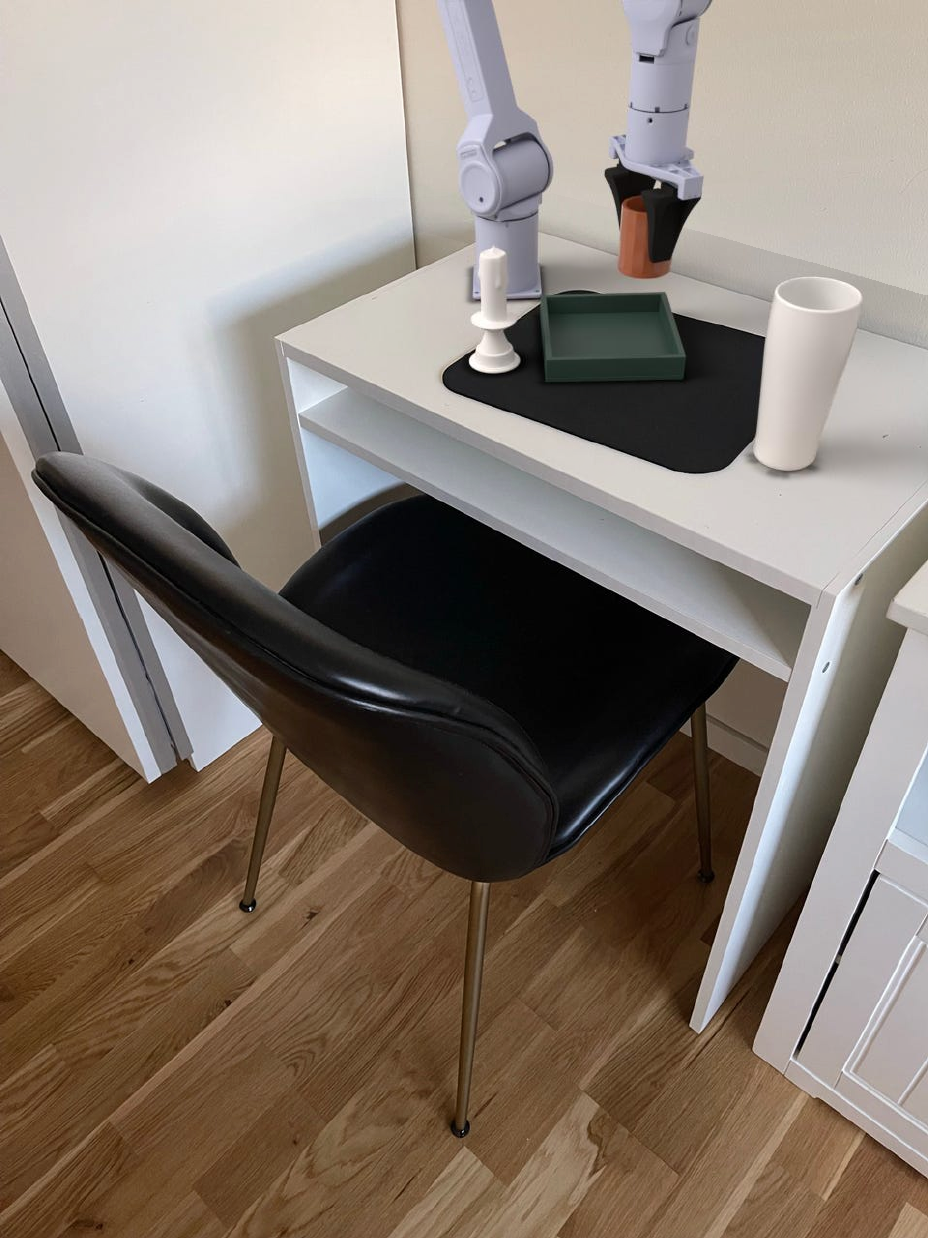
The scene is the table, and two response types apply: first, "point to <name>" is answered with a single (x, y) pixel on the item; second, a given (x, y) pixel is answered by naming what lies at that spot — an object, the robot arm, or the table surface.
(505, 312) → the candle
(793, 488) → the table surface
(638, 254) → the cup
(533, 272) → the robot arm
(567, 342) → the tray
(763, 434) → the drinking glass
